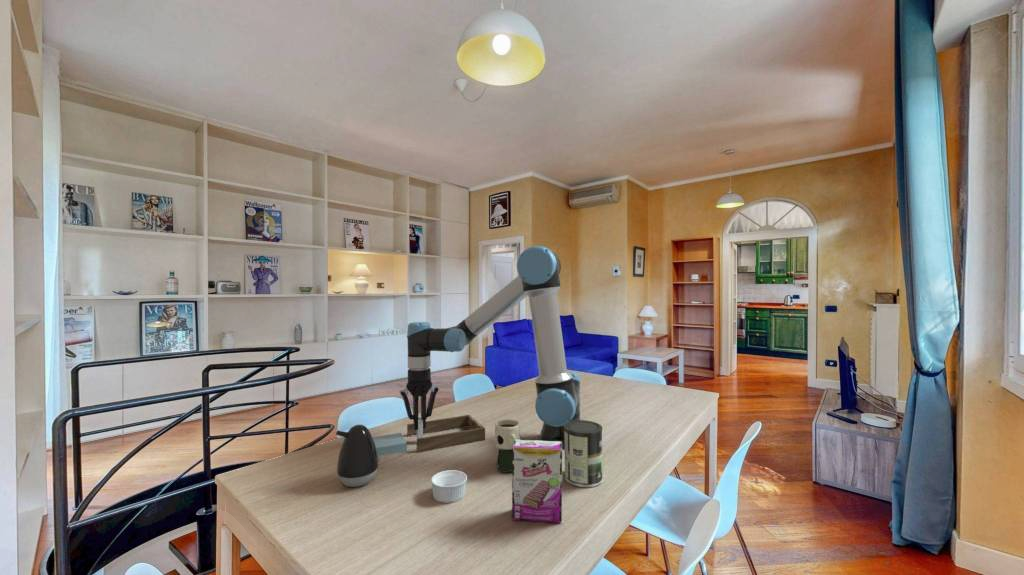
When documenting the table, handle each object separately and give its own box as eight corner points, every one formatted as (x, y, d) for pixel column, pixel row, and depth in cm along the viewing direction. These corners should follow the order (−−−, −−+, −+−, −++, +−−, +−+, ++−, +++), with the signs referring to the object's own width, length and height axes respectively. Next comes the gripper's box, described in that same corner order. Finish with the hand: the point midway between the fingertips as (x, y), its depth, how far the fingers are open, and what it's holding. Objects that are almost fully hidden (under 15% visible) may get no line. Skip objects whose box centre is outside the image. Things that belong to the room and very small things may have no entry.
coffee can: (598, 469, 111) (598, 419, 111) (606, 487, 100) (606, 433, 100) (561, 469, 111) (561, 419, 111) (566, 487, 100) (566, 432, 100)
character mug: (489, 463, 115) (489, 419, 115) (512, 459, 117) (511, 416, 117) (502, 480, 105) (502, 431, 105) (526, 475, 107) (526, 427, 107)
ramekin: (435, 486, 102) (435, 469, 102) (469, 486, 101) (469, 469, 101) (427, 504, 93) (427, 486, 93) (464, 505, 93) (463, 487, 93)
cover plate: (406, 452, 124) (406, 442, 124) (370, 459, 119) (370, 449, 119) (400, 441, 133) (400, 432, 133) (366, 447, 128) (366, 438, 128)
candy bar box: (511, 521, 86) (511, 447, 86) (513, 509, 91) (513, 438, 91) (562, 524, 85) (562, 448, 85) (562, 511, 90) (561, 440, 90)
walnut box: (485, 439, 133) (485, 428, 133) (417, 452, 123) (417, 439, 123) (469, 425, 147) (469, 414, 147) (407, 435, 137) (407, 424, 137)
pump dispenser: (336, 477, 106) (336, 421, 106) (376, 470, 110) (376, 416, 110) (335, 495, 97) (335, 434, 97) (379, 487, 101) (379, 428, 101)
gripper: (435, 364, 137) (435, 431, 137) (397, 368, 131) (397, 438, 131) (441, 368, 130) (441, 438, 130) (401, 372, 125) (402, 446, 124)
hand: (419, 438), depth 131 cm, fingers closed
